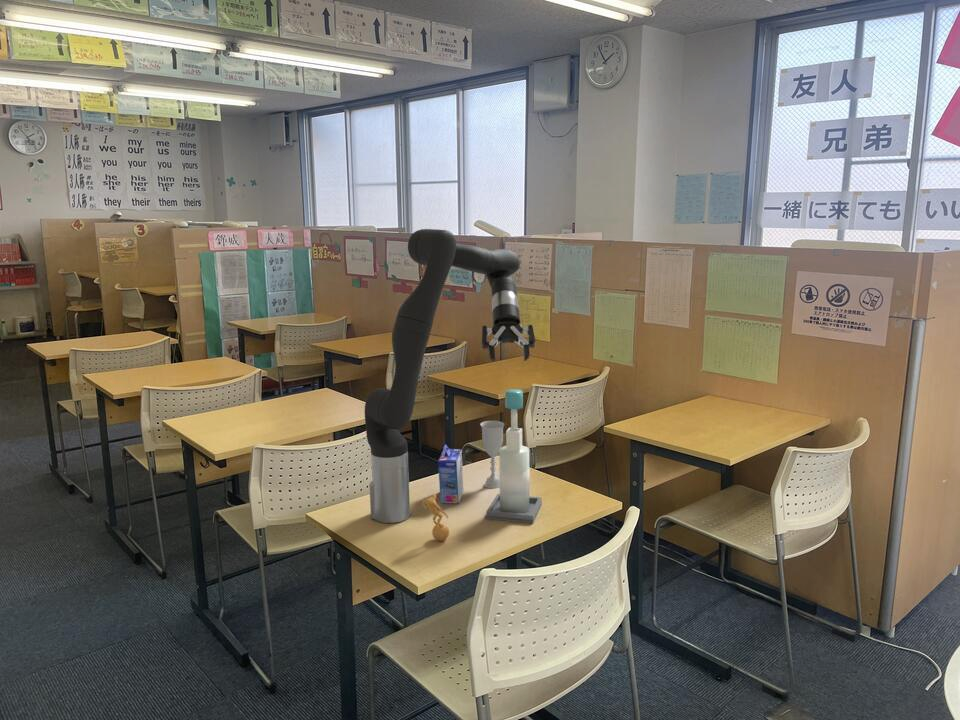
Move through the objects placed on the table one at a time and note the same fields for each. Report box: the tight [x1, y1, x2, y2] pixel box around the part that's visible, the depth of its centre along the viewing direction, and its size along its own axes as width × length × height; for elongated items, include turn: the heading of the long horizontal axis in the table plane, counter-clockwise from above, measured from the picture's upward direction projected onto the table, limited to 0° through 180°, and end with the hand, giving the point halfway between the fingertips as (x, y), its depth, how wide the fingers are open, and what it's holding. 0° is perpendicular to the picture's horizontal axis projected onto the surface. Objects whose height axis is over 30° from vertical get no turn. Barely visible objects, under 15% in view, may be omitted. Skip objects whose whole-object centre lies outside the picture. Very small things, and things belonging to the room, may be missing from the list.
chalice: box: [480, 420, 506, 489], centre depth 198 cm, size 7×7×18 cm
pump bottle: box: [485, 427, 543, 524], centre depth 179 cm, size 12×12×22 cm
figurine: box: [421, 493, 450, 542], centre depth 163 cm, size 8×6×12 cm
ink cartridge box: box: [437, 444, 464, 505], centre depth 190 cm, size 10×6×14 cm, turn 174°
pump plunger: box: [504, 389, 524, 430], centre depth 176 cm, size 4×4×10 cm
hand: (509, 359), depth 184 cm, fingers open, 8 cm apart
